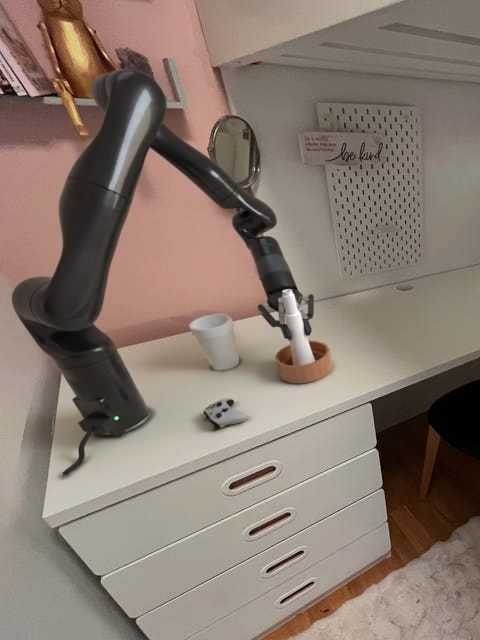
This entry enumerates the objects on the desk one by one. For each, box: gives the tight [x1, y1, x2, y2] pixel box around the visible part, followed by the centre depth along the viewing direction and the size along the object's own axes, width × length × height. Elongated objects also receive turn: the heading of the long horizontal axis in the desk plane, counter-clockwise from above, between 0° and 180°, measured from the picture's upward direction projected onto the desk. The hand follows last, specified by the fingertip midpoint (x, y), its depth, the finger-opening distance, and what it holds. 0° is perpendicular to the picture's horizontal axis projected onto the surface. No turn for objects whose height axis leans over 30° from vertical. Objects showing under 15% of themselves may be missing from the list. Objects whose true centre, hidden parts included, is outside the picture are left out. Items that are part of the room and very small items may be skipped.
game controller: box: [202, 397, 249, 430], centre depth 90 cm, size 10×5×6 cm
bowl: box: [274, 340, 333, 384], centre depth 107 cm, size 13×13×6 cm
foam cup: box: [188, 313, 240, 371], centre depth 106 cm, size 10×9×13 cm
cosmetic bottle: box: [282, 289, 315, 366], centre depth 102 cm, size 6×6×22 cm
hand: (299, 336), depth 101 cm, fingers closed on cosmetic bottle, 4 cm apart
